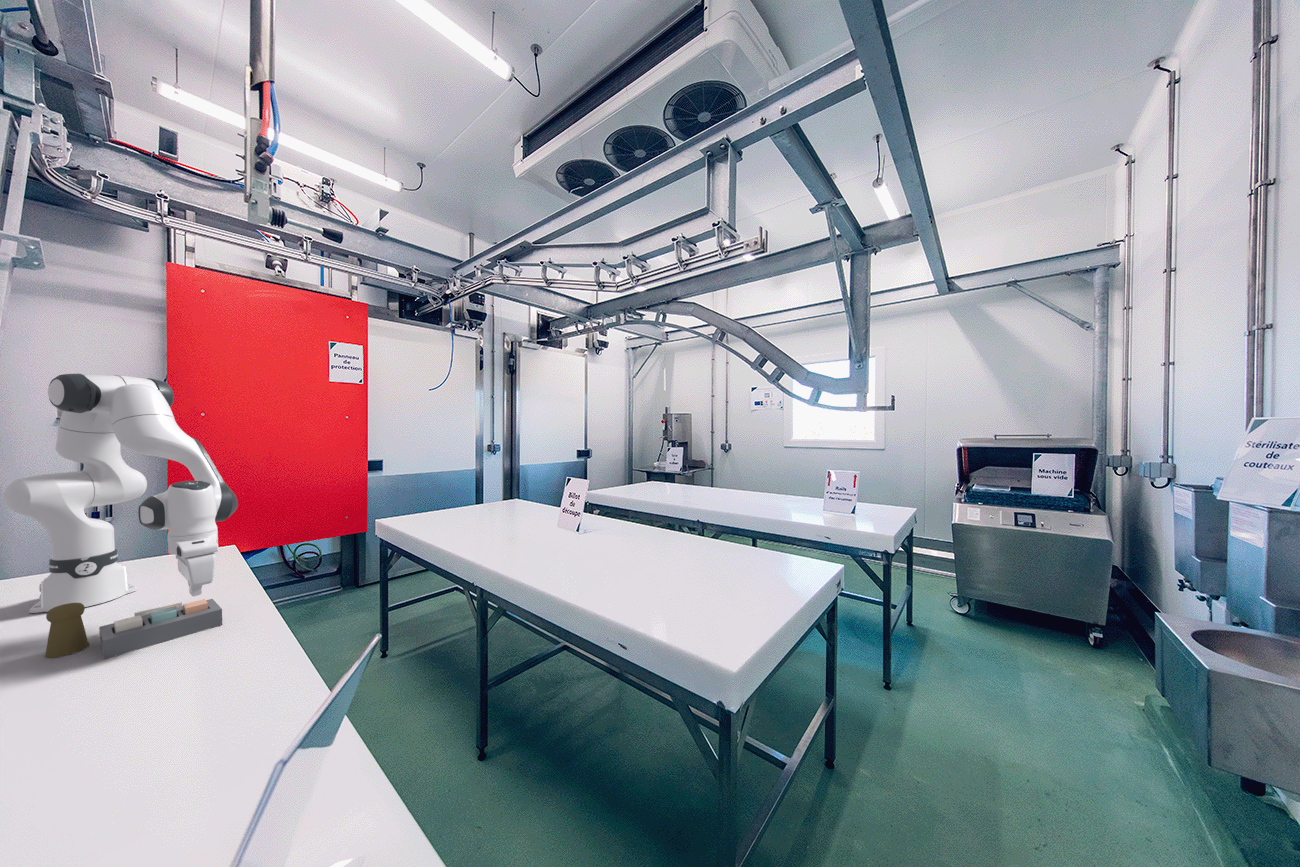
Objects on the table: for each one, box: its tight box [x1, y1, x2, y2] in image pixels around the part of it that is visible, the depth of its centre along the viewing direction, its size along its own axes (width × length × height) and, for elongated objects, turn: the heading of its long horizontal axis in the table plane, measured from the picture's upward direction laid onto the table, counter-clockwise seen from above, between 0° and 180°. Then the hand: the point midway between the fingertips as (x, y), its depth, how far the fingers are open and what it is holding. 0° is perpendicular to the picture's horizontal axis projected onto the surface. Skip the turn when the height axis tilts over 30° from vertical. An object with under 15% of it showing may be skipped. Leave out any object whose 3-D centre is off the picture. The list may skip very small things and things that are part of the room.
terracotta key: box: [182, 598, 208, 615], centre depth 109 cm, size 4×4×3 cm
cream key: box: [113, 615, 143, 633], centre depth 99 cm, size 4×4×3 cm
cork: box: [44, 603, 90, 659], centre depth 96 cm, size 6×6×11 cm
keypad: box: [98, 598, 223, 660], centre depth 105 cm, size 13×19×5 cm
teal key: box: [150, 607, 177, 624], centre depth 104 cm, size 4×4×3 cm
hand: (195, 594), depth 108 cm, fingers closed
